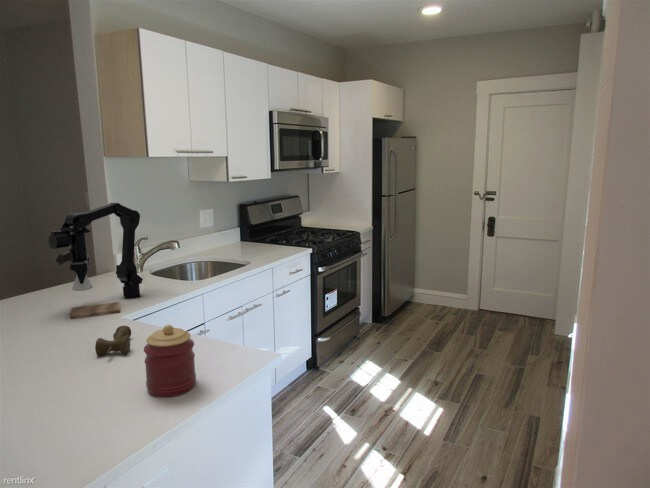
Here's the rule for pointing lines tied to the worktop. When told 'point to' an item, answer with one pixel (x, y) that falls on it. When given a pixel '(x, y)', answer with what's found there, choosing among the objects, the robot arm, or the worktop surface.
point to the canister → (169, 362)
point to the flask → (84, 286)
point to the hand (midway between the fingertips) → (82, 282)
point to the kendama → (115, 342)
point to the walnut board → (94, 310)
